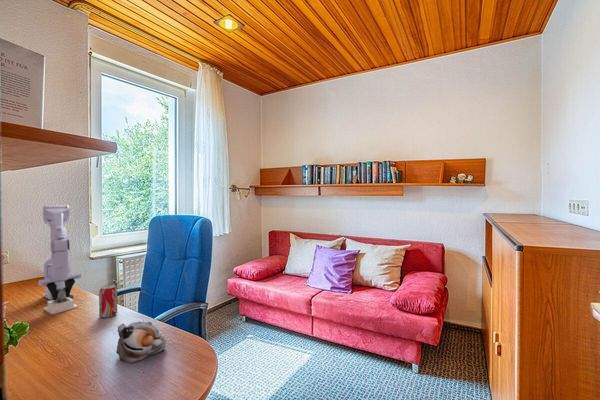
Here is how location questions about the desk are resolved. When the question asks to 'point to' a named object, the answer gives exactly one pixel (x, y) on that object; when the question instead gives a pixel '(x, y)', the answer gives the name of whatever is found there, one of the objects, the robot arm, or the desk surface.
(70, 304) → the dock
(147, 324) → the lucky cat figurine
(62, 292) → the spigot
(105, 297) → the beverage can
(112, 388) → the desk surface
